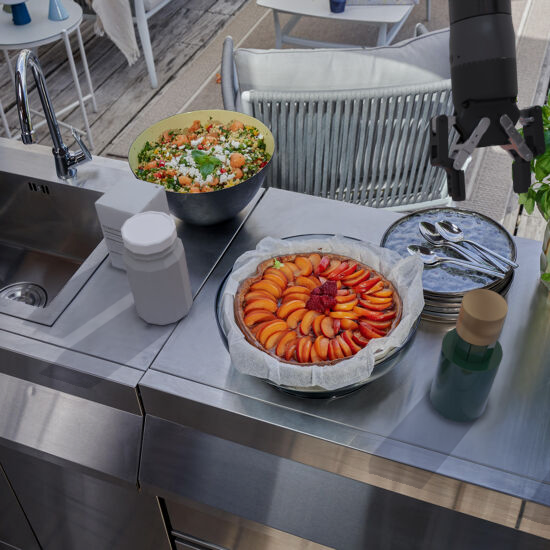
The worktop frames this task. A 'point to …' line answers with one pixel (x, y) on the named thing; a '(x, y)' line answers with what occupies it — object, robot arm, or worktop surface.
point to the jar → (156, 268)
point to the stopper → (481, 317)
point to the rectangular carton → (126, 210)
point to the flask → (464, 377)
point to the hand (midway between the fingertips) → (490, 197)
